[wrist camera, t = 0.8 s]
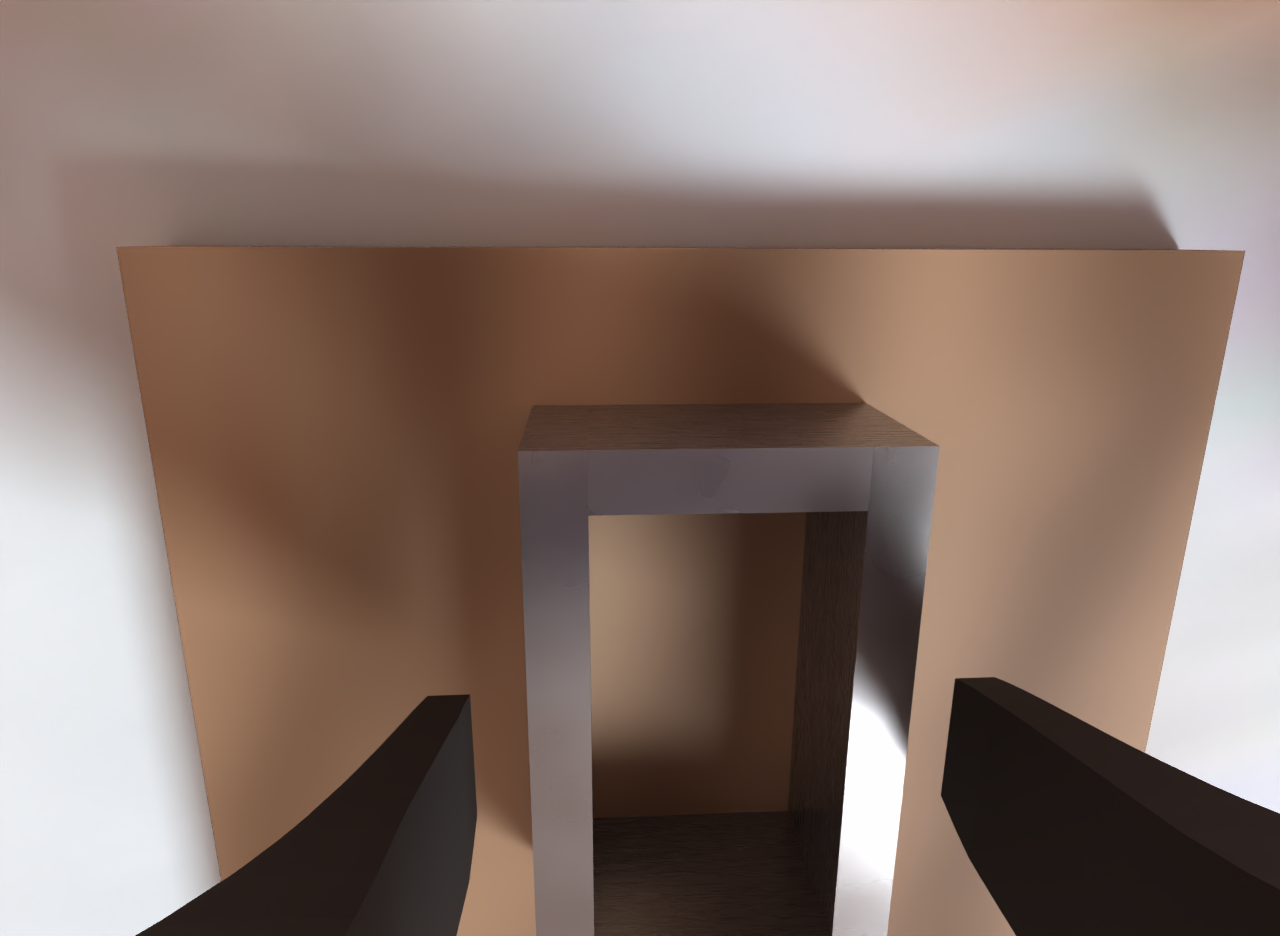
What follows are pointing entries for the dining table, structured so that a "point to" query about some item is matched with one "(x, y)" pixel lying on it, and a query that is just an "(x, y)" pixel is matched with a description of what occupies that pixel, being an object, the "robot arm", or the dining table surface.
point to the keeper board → (652, 544)
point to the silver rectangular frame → (825, 676)
